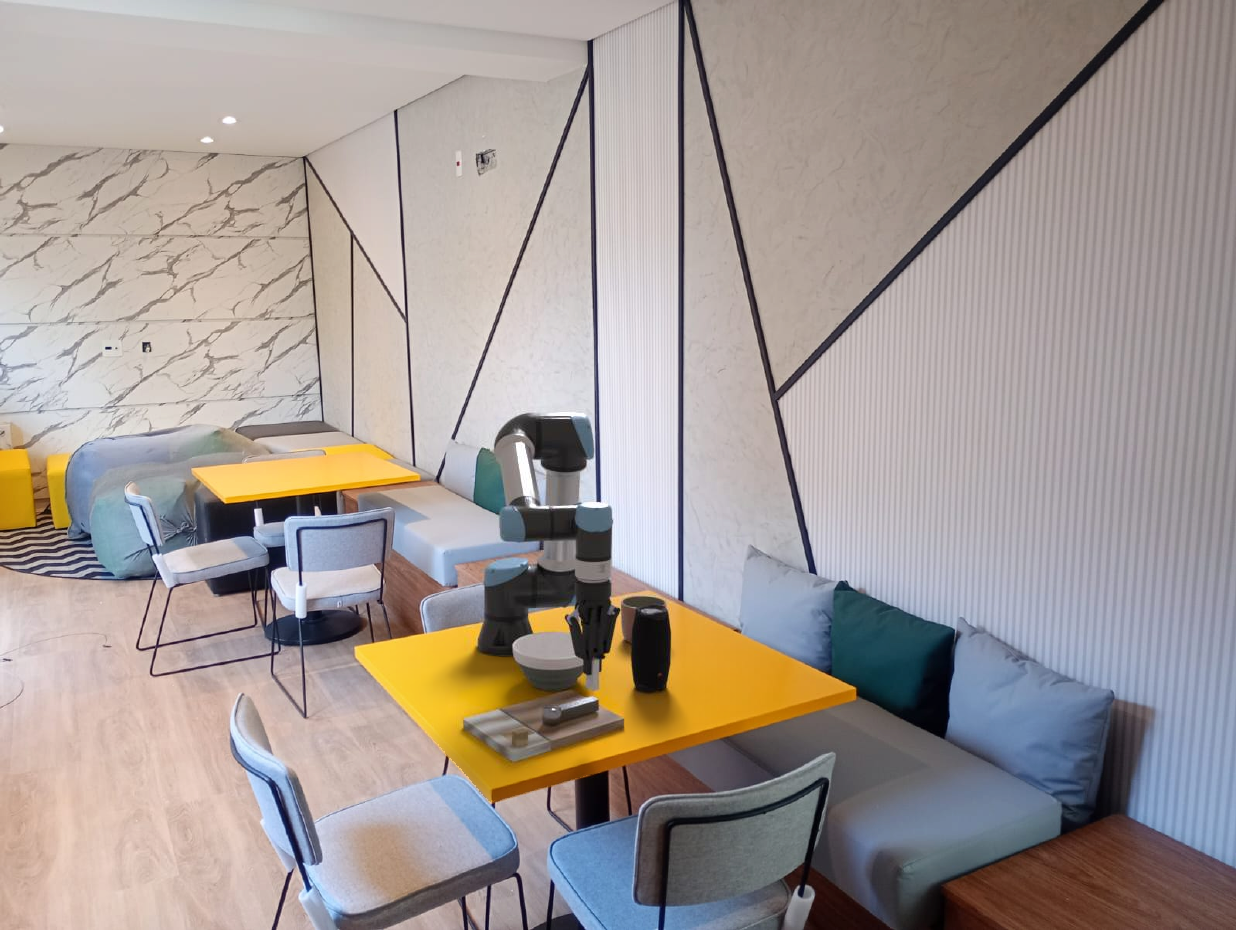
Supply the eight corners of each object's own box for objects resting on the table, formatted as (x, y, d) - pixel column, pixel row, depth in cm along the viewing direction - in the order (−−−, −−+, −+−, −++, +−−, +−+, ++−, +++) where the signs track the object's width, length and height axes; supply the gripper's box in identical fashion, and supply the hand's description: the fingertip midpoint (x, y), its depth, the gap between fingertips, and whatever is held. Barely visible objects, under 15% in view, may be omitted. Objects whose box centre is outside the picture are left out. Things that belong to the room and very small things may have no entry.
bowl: (527, 703, 220) (527, 663, 218) (502, 674, 238) (502, 636, 236) (606, 691, 228) (607, 652, 226) (576, 663, 245) (576, 627, 244)
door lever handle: (549, 727, 202) (549, 714, 201) (538, 720, 205) (538, 708, 205) (600, 711, 210) (601, 699, 210) (590, 705, 213) (590, 693, 213)
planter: (673, 638, 266) (674, 600, 264) (651, 651, 255) (651, 611, 254) (635, 630, 272) (636, 592, 271) (611, 642, 262) (612, 603, 260)
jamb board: (463, 727, 207) (462, 706, 206) (570, 697, 224) (570, 677, 223) (512, 762, 191) (512, 739, 190) (624, 727, 208) (624, 706, 207)
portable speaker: (671, 694, 227) (673, 613, 224) (632, 694, 226) (633, 614, 223) (667, 680, 235) (669, 602, 232) (628, 680, 234) (630, 602, 231)
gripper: (578, 587, 192) (577, 700, 195) (629, 577, 200) (627, 686, 203) (556, 579, 198) (556, 689, 201) (607, 570, 206) (606, 676, 209)
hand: (592, 688), depth 202 cm, fingers closed
